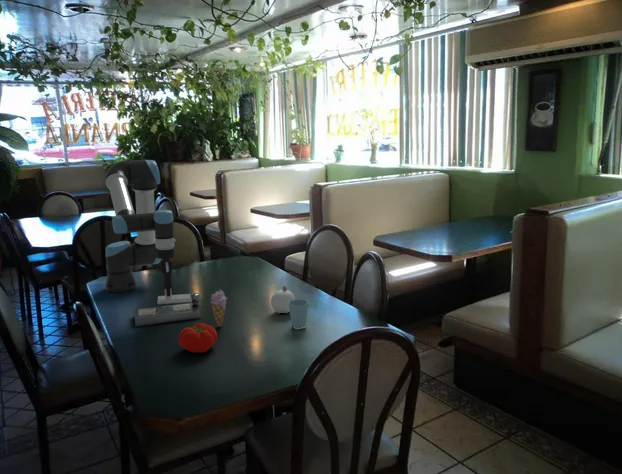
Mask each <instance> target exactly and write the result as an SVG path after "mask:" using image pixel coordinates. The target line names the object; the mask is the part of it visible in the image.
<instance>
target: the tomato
mask: <svg viewBox="0 0 622 474" xmlns="http://www.w3.org/2000/svg"><path fill="white" fill-rule="evenodd" d="M217 339H218V332H217V330H216V329H215V327H213V326H212V325H208V324H206V323H203V322H199V323H197V324H195V325H193V326H192V327H190V326H189V327H188V326H187V327H184V329H182V330H181V332H180V333H179V336H178V337H177V342H178V344H179V345H180V347H182V348H183V349H185V350H186V351H188V352H190V353H206V352H207V351H208V350H210V349H211V347H212V346H214V345H215V344H216V342H217Z"/></svg>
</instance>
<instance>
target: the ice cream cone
mask: <svg viewBox="0 0 622 474" xmlns="http://www.w3.org/2000/svg"><path fill="white" fill-rule="evenodd" d="M228 299H229V298H228V297H226V295H225V292H224V291H223V290H221V289H218V291H217V290H216V291H215V293H212V294H211V297H210V300H211V301H210V305H211V309H212V313H213V316H214V318H215V319H214V320H215V322H216V325H217V327H218V328H222V326H223V321H224V318H225V314H226V308H227V300H228Z"/></svg>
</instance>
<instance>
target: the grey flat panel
mask: <svg viewBox="0 0 622 474" xmlns="http://www.w3.org/2000/svg"><path fill="white" fill-rule="evenodd" d="M200 300H201V293H199V292H192V293H184V294H183V293H182V294H172V303H171V304H182V303H192V301H199V302H200ZM156 301H157V302H156V303H157V305H165V304H166V303H165V295H158V296H157V300H156ZM167 304H169V303H167ZM167 304H166V305H167Z"/></svg>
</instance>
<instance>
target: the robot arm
mask: <svg viewBox="0 0 622 474" xmlns="http://www.w3.org/2000/svg"><path fill="white" fill-rule="evenodd" d="M160 175H161V174H160V170H159V167H158V164H157V162H156V160H152V159H136V160H134V159H133V160H120V161H117V162H115V163H114V164H112V165H111V166H110V167H109V168H108V169H107V171H106V173H105V176H104V183H105V186H106V188H107V189H108V190H109V193H110V197H111V202H112V205H113V209H114V214H115V215H114V216H112V219H111V221H112V222H111V223H112V228H113V232H114V233H115V234H118V235H119V234H131V233H136V235H137V236H136V238H134V243H131V241H130V240H129V241H128V240H121V241H117V242H112V243H111V244H108V245H107V246H106V247H105V259H106V260H105V261H106V271H107V275H106V281H105V283H104V289H105V292H107V293H113V294H115V293H118V294H119V293H126V292H130V291H134V290H135V289H137V287H138V281H137V279H136V278H135V274H134V273H133V267H134V268H135V267H143V266H153V265H157V264H161V267H162V268H161V270H162V273H163V284H164V285H163V287H162V289H163V290H164V296H165V303H166V305H167V303H168V304H173V303H172V295H173V294H172V287H173V284H172V260H170V259H173V258H175V257H176V248H175V242H176V241H177V240H176V238H175V230H174V229H175V228H174V216H173V211H172V210H171V209H158V210H155V191H156V190H157V188H158V185H160V184H161V176H160ZM128 186H131V189H132V191H134V192H135V209H136V210H134V206H133V204H132V203H133V202H132V199H131V195H130V192H129V189H128Z"/></svg>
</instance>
